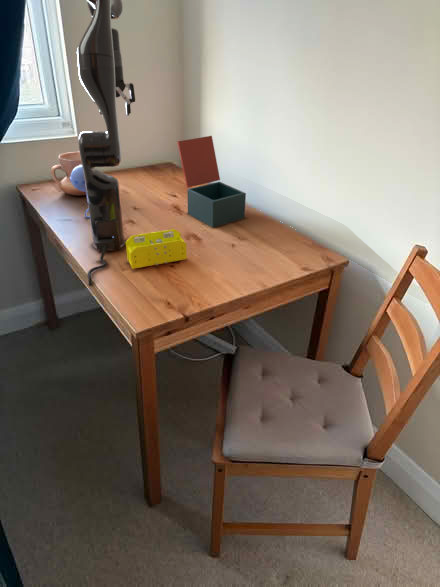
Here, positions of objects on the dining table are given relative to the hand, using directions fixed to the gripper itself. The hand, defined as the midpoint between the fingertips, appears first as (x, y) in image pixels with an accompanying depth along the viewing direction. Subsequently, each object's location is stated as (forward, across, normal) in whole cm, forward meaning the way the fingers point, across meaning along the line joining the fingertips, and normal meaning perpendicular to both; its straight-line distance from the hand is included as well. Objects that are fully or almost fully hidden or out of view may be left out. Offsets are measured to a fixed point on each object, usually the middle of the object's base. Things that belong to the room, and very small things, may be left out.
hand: (115, 115), depth 160 cm
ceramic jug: (+29, -16, +6) cm, 34 cm away
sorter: (+29, +28, -30) cm, 50 cm away
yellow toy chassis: (+29, +1, -57) cm, 64 cm away
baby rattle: (+29, -14, -20) cm, 38 cm away
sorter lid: (+12, +25, -21) cm, 34 cm away
